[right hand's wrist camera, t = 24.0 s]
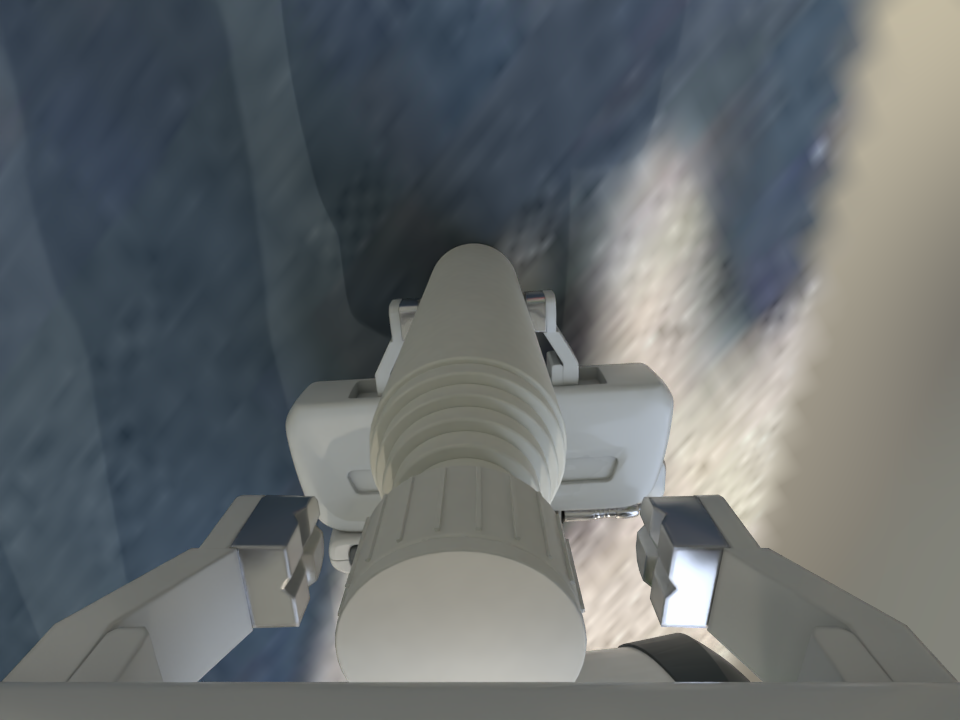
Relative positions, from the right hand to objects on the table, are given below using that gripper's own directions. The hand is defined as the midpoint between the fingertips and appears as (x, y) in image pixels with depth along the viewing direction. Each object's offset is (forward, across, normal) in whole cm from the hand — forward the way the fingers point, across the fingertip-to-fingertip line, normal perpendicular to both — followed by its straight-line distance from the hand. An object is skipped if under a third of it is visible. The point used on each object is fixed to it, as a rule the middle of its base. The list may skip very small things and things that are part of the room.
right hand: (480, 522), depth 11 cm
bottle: (+23, 0, 0) cm, 23 cm away
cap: (-2, 0, 0) cm, 2 cm away
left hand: (+17, 0, 0) cm, 17 cm away
